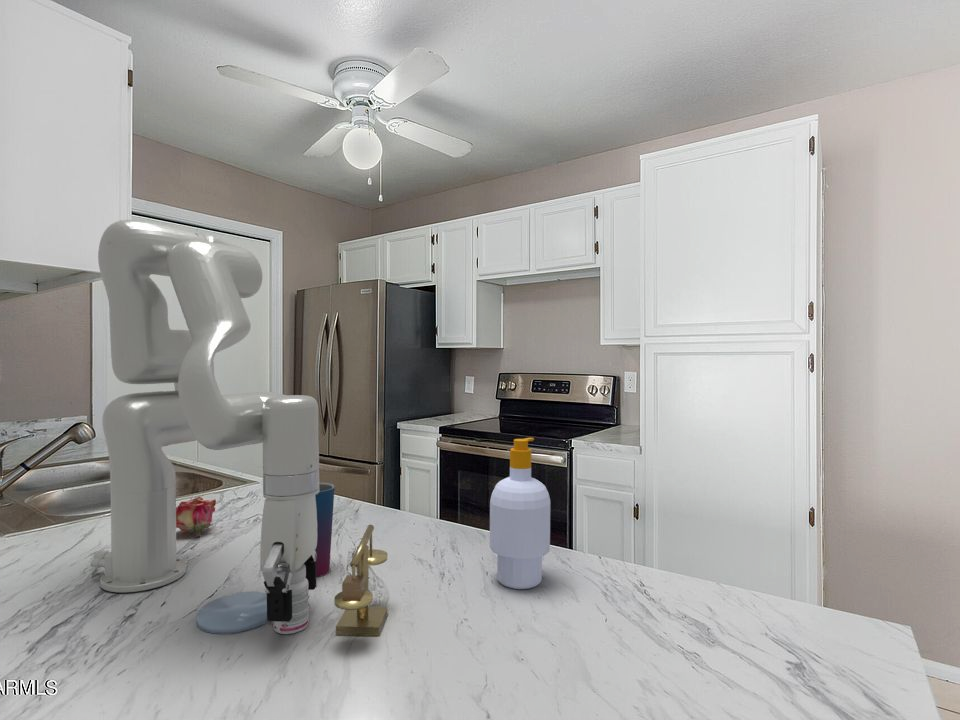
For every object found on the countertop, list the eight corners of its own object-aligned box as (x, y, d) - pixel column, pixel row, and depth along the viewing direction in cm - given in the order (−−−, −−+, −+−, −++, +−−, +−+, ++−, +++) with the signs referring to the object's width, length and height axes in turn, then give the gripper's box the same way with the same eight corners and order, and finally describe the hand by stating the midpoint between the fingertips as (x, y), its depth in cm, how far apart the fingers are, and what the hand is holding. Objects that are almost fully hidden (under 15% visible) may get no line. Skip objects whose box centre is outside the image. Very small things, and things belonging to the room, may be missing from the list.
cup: (323, 581, 94) (323, 493, 94) (286, 577, 95) (286, 490, 95) (341, 565, 101) (341, 483, 100) (306, 562, 102) (306, 481, 102)
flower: (230, 526, 117) (223, 491, 120) (188, 529, 109) (182, 492, 113) (203, 546, 120) (197, 511, 124) (161, 550, 113) (155, 513, 116)
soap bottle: (561, 580, 95) (563, 440, 95) (524, 600, 88) (525, 447, 87) (515, 564, 102) (516, 433, 102) (476, 581, 95) (477, 439, 94)
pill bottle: (315, 622, 80) (315, 564, 80) (291, 638, 76) (291, 577, 76) (290, 615, 82) (290, 559, 82) (265, 630, 78) (265, 570, 78)
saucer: (181, 632, 77) (180, 625, 77) (220, 597, 88) (220, 590, 88) (259, 634, 77) (259, 627, 77) (289, 598, 88) (289, 592, 88)
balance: (325, 652, 72) (325, 554, 72) (355, 600, 87) (355, 518, 87) (371, 654, 72) (371, 555, 72) (393, 601, 87) (393, 519, 87)
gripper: (288, 470, 87) (290, 578, 88) (236, 499, 70) (238, 634, 70) (336, 470, 87) (337, 578, 87) (295, 499, 70) (297, 635, 70)
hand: (293, 603), depth 79 cm, fingers open, 9 cm apart
